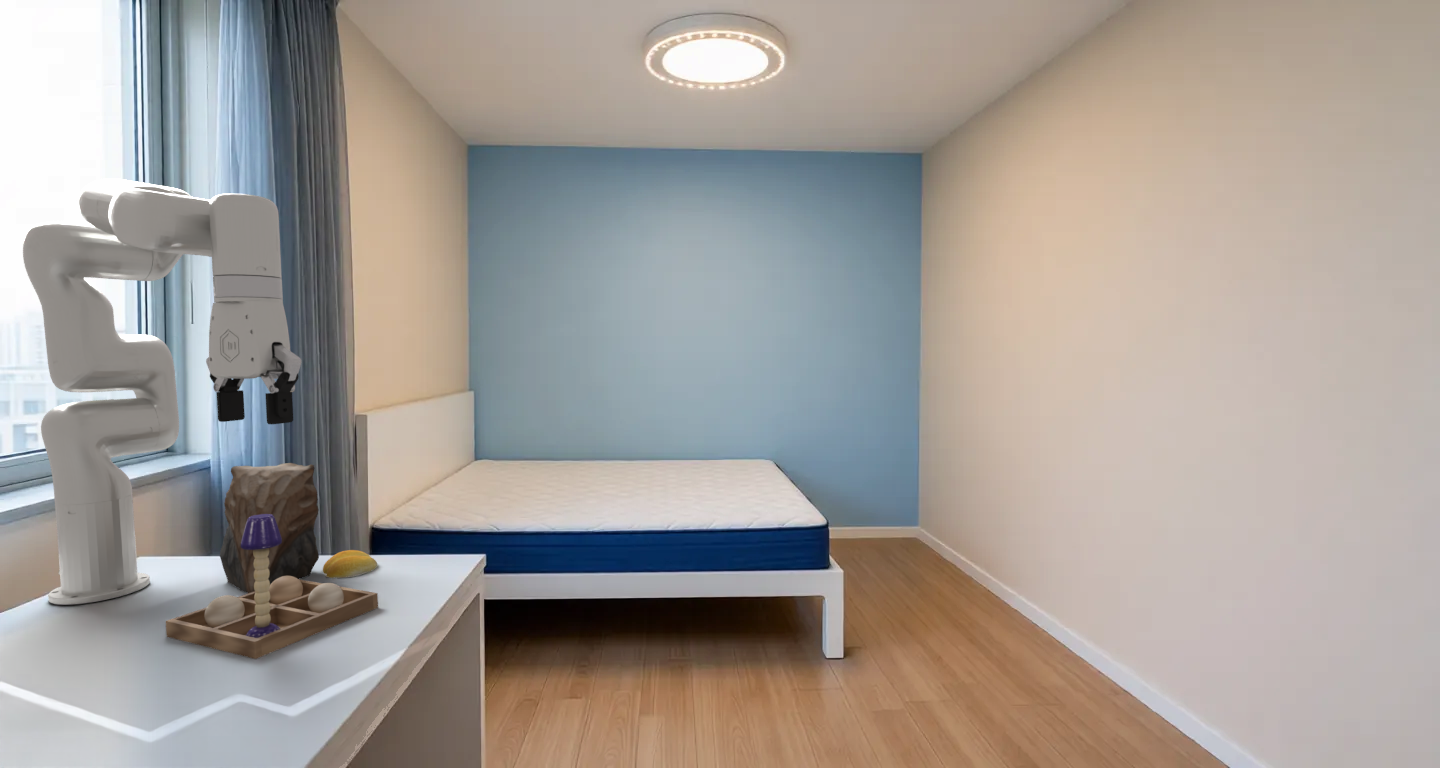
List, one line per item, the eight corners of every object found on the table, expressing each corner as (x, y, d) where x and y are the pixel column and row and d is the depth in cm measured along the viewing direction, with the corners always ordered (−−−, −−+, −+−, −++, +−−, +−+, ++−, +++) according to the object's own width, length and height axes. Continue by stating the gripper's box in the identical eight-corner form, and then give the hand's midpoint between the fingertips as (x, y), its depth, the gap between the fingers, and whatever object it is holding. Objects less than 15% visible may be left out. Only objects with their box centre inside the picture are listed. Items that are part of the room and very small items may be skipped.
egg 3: (301, 618, 102) (299, 586, 102) (329, 606, 106) (328, 576, 106) (323, 622, 100) (321, 590, 100) (351, 611, 104) (350, 580, 104)
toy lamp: (258, 631, 97) (251, 512, 96) (293, 629, 98) (287, 511, 97) (237, 646, 93) (230, 521, 91) (274, 644, 93) (268, 519, 92)
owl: (218, 584, 119) (211, 467, 118) (299, 565, 129) (293, 457, 128) (247, 600, 112) (240, 475, 110) (331, 578, 122) (325, 463, 120)
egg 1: (197, 632, 97) (195, 599, 97) (232, 620, 101) (230, 588, 101) (219, 637, 95) (217, 604, 95) (253, 624, 100) (251, 592, 99)
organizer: (167, 642, 96) (165, 620, 96) (294, 596, 113) (293, 578, 113) (256, 665, 89) (254, 641, 89) (378, 612, 106) (377, 593, 105)
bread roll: (330, 586, 118) (329, 563, 118) (319, 574, 125) (318, 551, 125) (383, 575, 123) (382, 553, 123) (370, 563, 130) (369, 542, 130)
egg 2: (261, 609, 105) (259, 579, 105) (290, 599, 110) (288, 570, 109) (281, 614, 104) (280, 583, 103) (310, 603, 108) (309, 573, 107)
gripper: (176, 292, 92) (184, 422, 93) (264, 287, 85) (271, 427, 86) (235, 295, 99) (241, 416, 100) (320, 291, 92) (326, 421, 93)
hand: (255, 421), depth 93 cm, fingers open, 9 cm apart
